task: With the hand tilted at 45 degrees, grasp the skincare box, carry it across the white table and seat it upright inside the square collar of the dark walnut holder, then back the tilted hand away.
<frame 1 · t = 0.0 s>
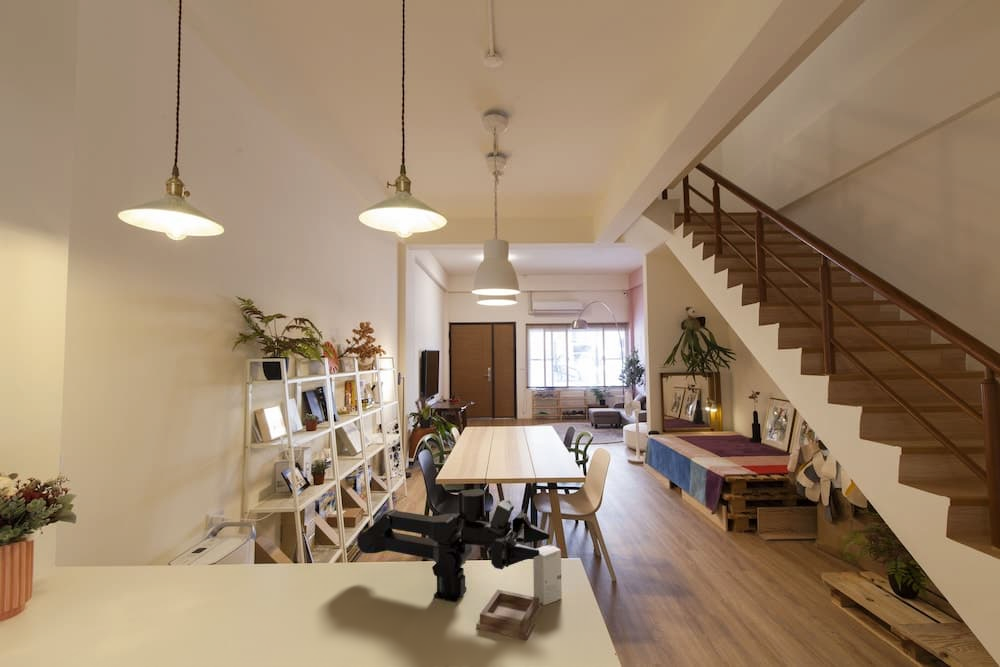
hand: (544, 544, 105), 17 cm above the table, tool horizontal, fingers open, 9 cm apart
skincare box: (547, 598, 111), on the table
walnut holder: (510, 617, 103), on the table
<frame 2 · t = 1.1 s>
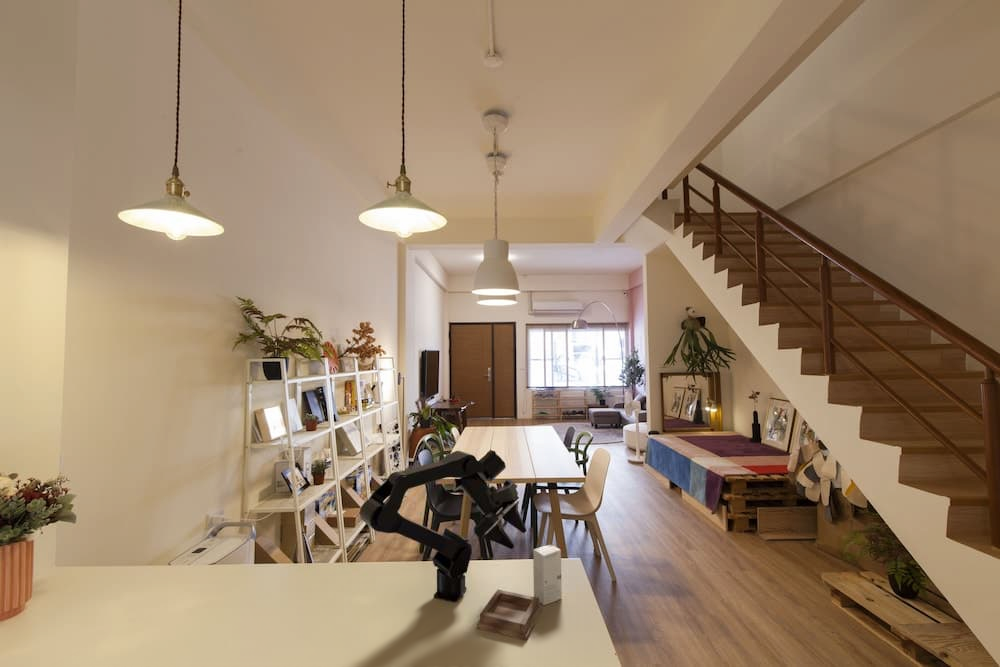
hand: (519, 539, 114), 14 cm above the table, tool tilted 45°, fingers open, 9 cm apart
nothing on the table moved.
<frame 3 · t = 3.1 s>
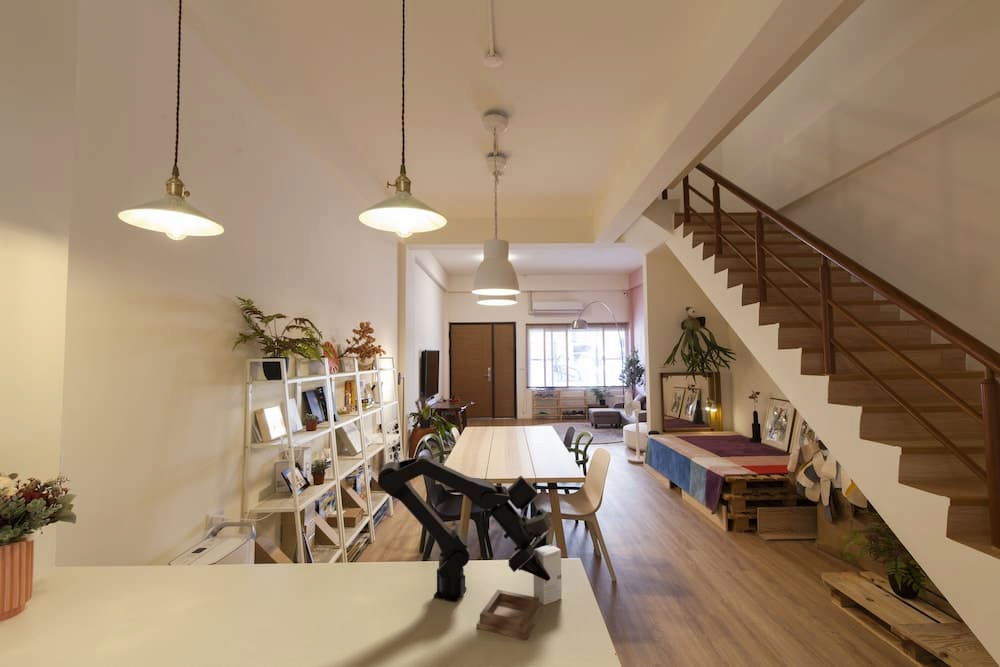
hand: (552, 572, 111), 7 cm above the table, tool tilted 45°, fingers closed on skincare box, 7 cm apart
skincare box: (547, 598, 111), on the table, touching gripper
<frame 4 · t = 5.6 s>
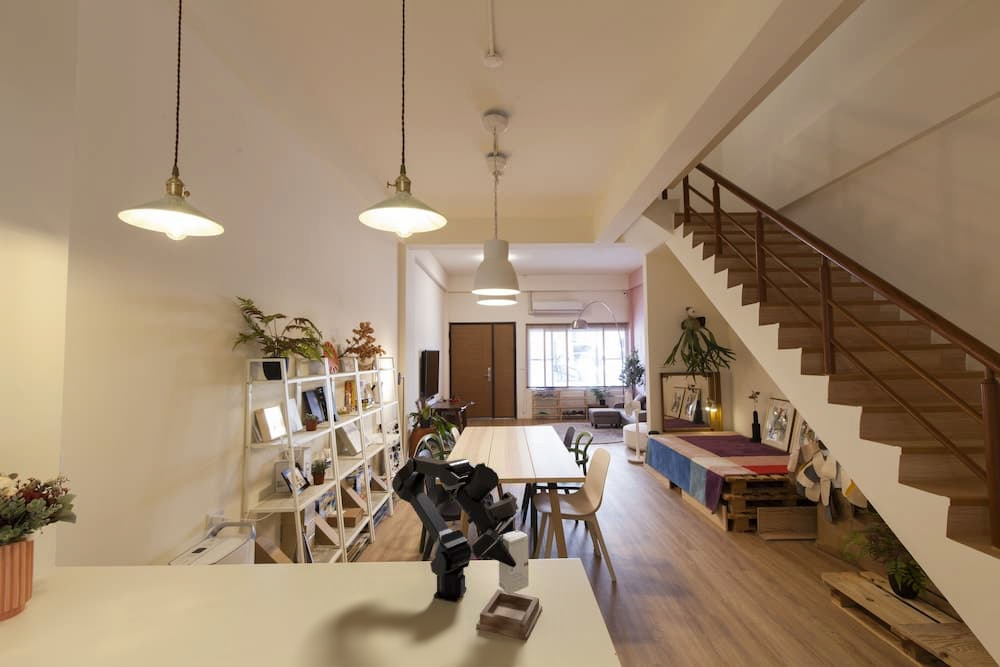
hand: (519, 558, 104), 13 cm above the table, tool tilted 45°, fingers closed on skincare box, 7 cm apart
skincare box: (513, 587, 105), point 6 cm above the table, touching gripper
when the fingers open (8 cm above the table, at t = 7.9 s): skincare box stays where it is, resting on walnut holder.
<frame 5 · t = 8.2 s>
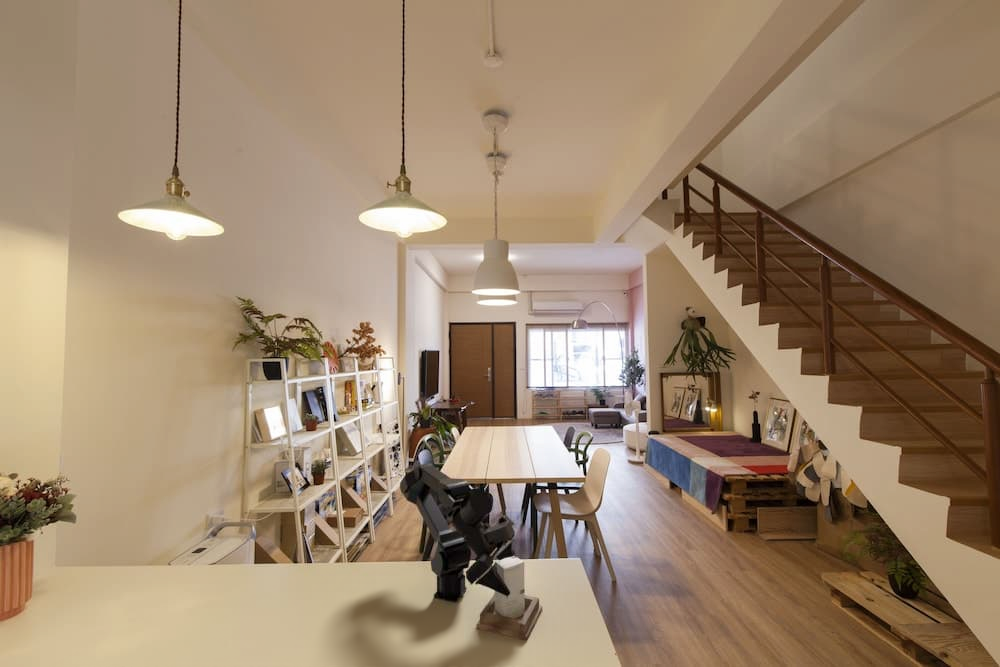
hand: (515, 584, 103), 8 cm above the table, tool tilted 45°, fingers open, 9 cm apart
skincare box: (509, 614, 103), point 1 cm above the table, touching walnut holder
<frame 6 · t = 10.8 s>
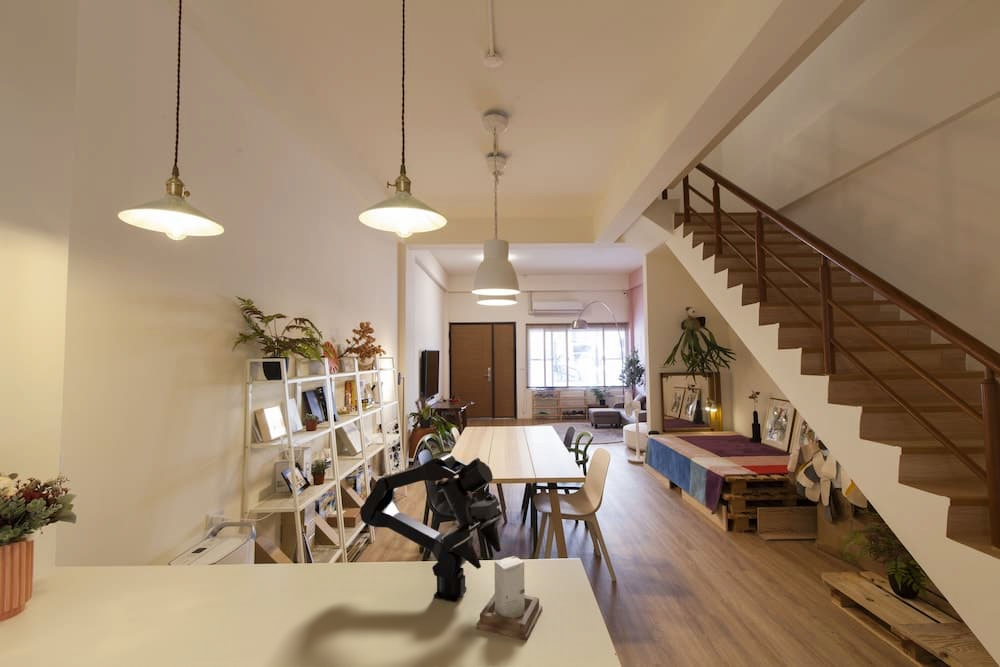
hand: (489, 559, 108), 11 cm above the table, tool tilted 35°, fingers open, 9 cm apart
nothing on the table moved.
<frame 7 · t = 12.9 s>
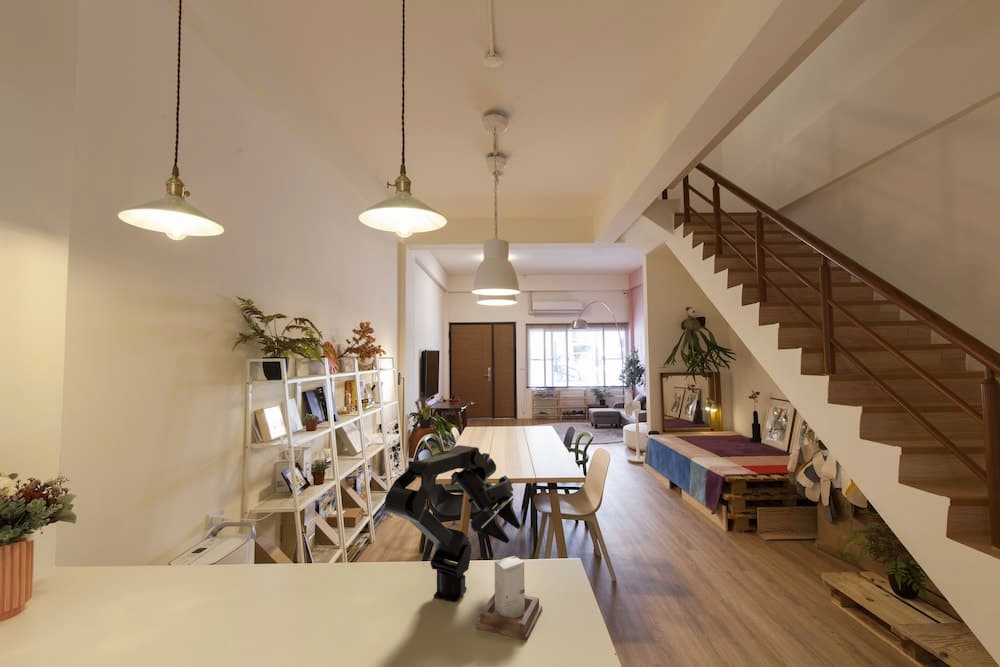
hand: (514, 534, 117), 14 cm above the table, tool tilted 45°, fingers open, 9 cm apart
nothing on the table moved.
at the end: skincare box 0.3 cm off-centre on the walnut holder, point 0.6 cm above the walnut holder's base; skincare box tilted 0°; the gripper is holding nothing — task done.
